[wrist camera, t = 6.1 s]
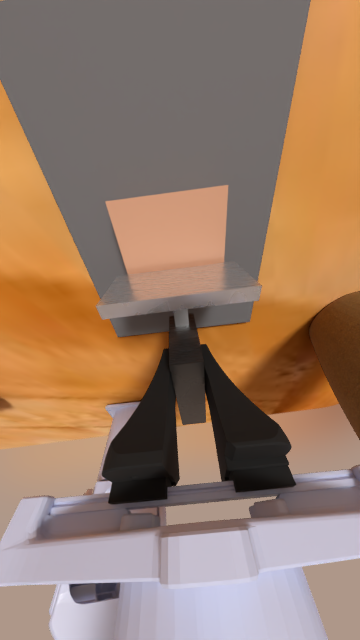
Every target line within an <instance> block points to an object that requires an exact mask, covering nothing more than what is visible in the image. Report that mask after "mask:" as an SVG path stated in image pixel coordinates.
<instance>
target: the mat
mask: <svg viewBox="0 0 360 640" xmlns="http://www.w3.org/2000/svg"><path fill="white" fill-rule="evenodd" d="M310 1H311V0H3V1H0V80H1V82H2V84H3V87H4V89H5V91H6V93H7V95H8V98H9V100H10V102H11V104H12V106H13V108H14V111H15V113H16V115H17V117H18V119H19V122H20V124H21V126H22V128H23V130H24V133H25V135H26V137H27V139H28V141H29V143H30V146H31V148H32V150H33V152H34V154H35V157H36V159H37V161H38V163H39V165H40V168H41V170H42V172H43V174H44V176H45V178H46V181H47V183H48V185H49V187H50V189H51V192H52V194H53V196H54V198H55V200H56V202H57V205H58V207H59V209H60V211H61V213H62V216H63V218H64V220H65V222H66V224H67V227H68V229H69V231H70V233H71V235H72V237H73V240H74V242H75V244H76V246H77V248H78V251H79V253H80V255H81V257H82V259H83V262H84V264H85V266H86V268H87V270H88V272H89V275H90V277H91V279H92V281H93V283H94V286H95V288H96V290H97V292H98V294H99V296H100V299H101V298H102V297H103V295H104V294H105V293H106V291H107V290H108V289H109V287H110V286H111V284H112V283H113V282H114V280H115V279H116V277H117V276H122V275H128V273H127V270H126V267H125V264H124V261H123V257H122V254H121V251H120V248H119V244H118V241H117V238H116V235H115V232H114V228H113V225H112V222H111V219H110V215H109V212H108V209H107V206H106V202H105V201H112V200H119V199H127V198H134V197H141V196H149V195H156V194H164V193H171V192H178V191H186V190H193V189H201V188H208V187H215V186H223V185H228V200H227V218H226V237H225V255H224V263H225V262H233V261H234V262H236V263H237V264H238V265H239V266H240V267H241V268H242V269H243V270H245V271H246V272H247V273H248V274H249V275H250V276H251V277H253V278H254V279H255V280H256V281H258V276H259V270H260V265H261V260H262V255H263V249H264V244H265V239H266V233H267V228H268V223H269V217H270V212H271V207H272V202H273V196H274V191H275V186H276V180H277V175H278V170H279V165H280V159H281V154H282V149H283V143H284V138H285V133H286V128H287V122H288V117H289V112H290V106H291V101H292V96H293V91H294V85H295V80H296V75H297V69H298V64H299V59H300V54H301V48H302V43H303V38H304V32H305V27H306V22H307V17H308V11H309V6H310ZM253 302H254V301H250V302H242V303H234V304H225V305H217V306H209V307H201V308H192V309H188V314H191V313H193V314H194V318H195V323H196V328H200V327H208V326H217V325H225V324H234V323H242V322H250V318H251V313H252V307H253ZM169 316H174V313H173V311H168V312H159V313H151V314H143V315H134V316H126V317H118V318H110V321H111V323H112V325H113V327H114V329H115V331H116V334H117V336H118V337H124V336H132V335H141V334H149V333H158V332H166V331H169Z"/></svg>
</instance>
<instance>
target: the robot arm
mask: <svg viewBox="0 0 360 640" xmlns="http://www.w3.org/2000/svg"><path fill="white" fill-rule="evenodd" d="M200 346H201V350H202V355H203V359H204V377H205V393H206V396H207V400H208V404H209V409H210V415H211V420H212V426H213V431H214V438H215V443H216V449H217V456H218V461H219V468H220V474H221V480H222V482H213V483H204V484H193V485H184V486H176V484H177V483H178V481H179V479H180V478H179V464H178V451H177V450H178V449H177V433H176V413H175V402H176V394H175V389H174V385H173V381H172V377H171V372H170V368H169V348H168V349H164V350H163V354H162V357H161V360H160V363H159V366H158V368H157V371H156V373H155V376H154V378H153V380H152V382H151V384H150V386H149V388H148V390H147V392H146V393H145V395H144V397H143V399H142V400H141V401H139V402H130V403H121V404H112V405H107V406H106V407H105V409H106V410H107V411H108V413H109V414H110V415H111V416H112V418H113V421H112V425H111V429H110V432H109V436H108V440H107V444H106V448H105V452H104V456H103V459H102V463H101V467H100V471H99V475H98V479H97V482H96V484H95V487H94V490H93V493H92V489H88V490H87V492H86V493H85V494H83V495H81V496H71V497H61V498H54V497H52V496H34V497H24V498H23V499H21V501H20V503H19V505H18V507H17V509H16V511H15V513H14V515H13V517H12V519H11V521H10V523H9V525H8V527H7V529H6V531H5V533H4V535H3V537H2V539H1V541H0V586H15V585H42V584H57V585H56V589H55V592H54V596H53V599H52V602H51V606H50V610H49V614H50V615H51V618H50V622H49V629H50V632H51V634H52V636H53V638H54V640H328V638H327V635H326V632H325V630H324V627H323V624H322V621H321V619H320V616H319V613H318V610H317V608H316V605H315V602H314V599H313V597H312V594H311V591H310V588H309V586H308V583H307V580H306V578H305V575H304V572H303V569H302V566H309V565H316V564H322V563H329V562H336V561H343V560H350V559H357V558H360V465H356V466H354V467H352V468H351V469H345V470H335V471H325V472H315V473H305V474H295V475H292V474H291V471H290V469H289V467H288V465H289V462H288V460H287V458H286V456H285V455H286V454H287V453H288V452H289V451H290V449H291V444H290V442H289V440H288V438H287V436H286V435H285V433H284V432H283V430H282V429H281V427H280V426H279V424H277V423H276V422H275V421H274V420H272V419H271V418H270V417H269V416H267V415H266V414H265V413H264V412H263V411H261V410H260V409H259V408H258V407H257V406H256V405H255V404H254V403H252V402H251V401H250V400H249V399H248V398H247V397H246V396H245V395H244V394H243V393H242V392H241V391H240V390H239V389H238V388H237V387H236V386H235V385H234V383H233V382H232V381H231V380H230V379H229V378H228V376H227V375H226V374H225V373H224V371H223V370H222V369H221V367H220V366H219V365H218V363H217V362H216V360H215V359H214V357H213V356H212V354H211V352H210V351H209V349H208V347H207V345H206V344H202V345H200ZM172 486H173V487H172ZM271 496H277V497H276V499H272V500H266V501H260V502H255V503H254V505H253V506H251V507H249V511H250V514H251V518H244V519H231V520H220V521H208V522H197V523H188V524H178V525H168V526H166V508H165V507H166V506H176V505H187V504H197V503H208V502H219V501H229V500H238V499H250V498H260V497H271Z"/></svg>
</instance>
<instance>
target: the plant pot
mask: <svg viewBox="0 0 360 640" xmlns="http://www.w3.org/2000/svg"><path fill="white" fill-rule="evenodd" d="M309 336H310V339H311V342H312V345H313V347H314V350H315V353H316V355H317V357H318V360H319V362H320V364H321V367H322V369H323V371H324V373H325V376H326V378H327V380H328V382H329V384H330V386H331V388H332V390H333V392H334V394H335V396H336V398H337V400H338V402H339V404H340V406H341V408H342V409H343V411H344V413H345V415H346V417H347V419H348V420H349V422H350V424H351V426H352V427H353V429H354V431H355V432H356V434H357V436H358V438H359V440H360V291H358V292H354V293H351V294H348V295H345V296H343V297H341V298H339V299H337V300H335V301H334V302H332V303H330V304H329V305H328V306H326V307H325V308H324V309H323V310H322V311H321V312H320V313H319V314H318V315H317V316H316V317H315V318H314V320H313V321H312V323H311V325H310V328H309Z"/></svg>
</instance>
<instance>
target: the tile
mask: <svg viewBox="0 0 360 640" xmlns="http://www.w3.org/2000/svg"><path fill="white" fill-rule="evenodd" d="M227 200H228V185H223V186H215V187H208V188H201V189H193V190H186V191H178V192H171V193H164V194H156V195H149V196H141V197H134V198H127V199H119V200H112V201H105V202H106V206H107V209H108V212H109V215H110V219H111V222H112V225H113V228H114V232H115V235H116V238H117V241H118V244H119V248H120V251H121V254H122V257H123V261H124V264H125V267H126V270H127V273H128V275H130V274H138V273H146V272H154V271H162V270H170V269H177V268H185V267H193V266H201V265H209V264H217V263H224V255H225V237H226V218H227Z"/></svg>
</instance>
